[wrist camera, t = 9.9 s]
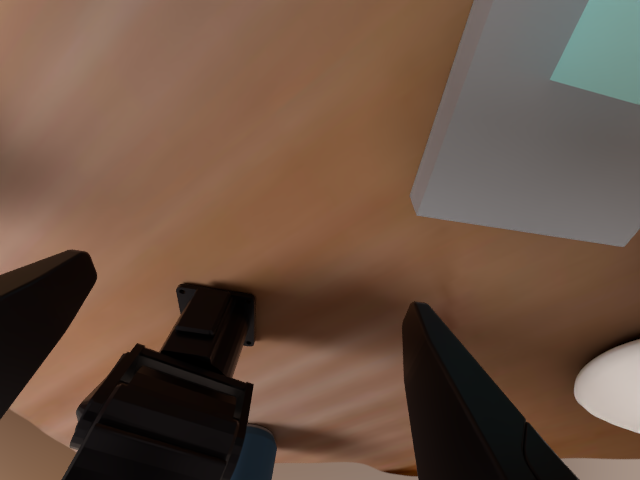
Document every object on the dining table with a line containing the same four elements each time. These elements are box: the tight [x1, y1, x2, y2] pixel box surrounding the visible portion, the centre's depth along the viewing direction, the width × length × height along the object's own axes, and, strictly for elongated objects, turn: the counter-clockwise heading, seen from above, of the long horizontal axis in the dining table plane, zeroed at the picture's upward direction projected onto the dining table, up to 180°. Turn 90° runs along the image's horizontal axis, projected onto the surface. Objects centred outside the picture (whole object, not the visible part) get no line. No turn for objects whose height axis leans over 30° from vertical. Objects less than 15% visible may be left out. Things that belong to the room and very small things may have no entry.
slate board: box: [410, 0, 640, 247], centre depth 14 cm, size 18×12×2 cm, turn 173°
